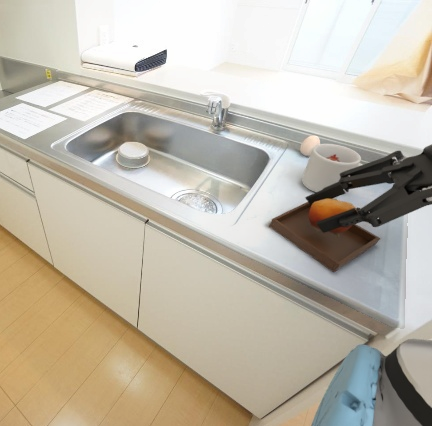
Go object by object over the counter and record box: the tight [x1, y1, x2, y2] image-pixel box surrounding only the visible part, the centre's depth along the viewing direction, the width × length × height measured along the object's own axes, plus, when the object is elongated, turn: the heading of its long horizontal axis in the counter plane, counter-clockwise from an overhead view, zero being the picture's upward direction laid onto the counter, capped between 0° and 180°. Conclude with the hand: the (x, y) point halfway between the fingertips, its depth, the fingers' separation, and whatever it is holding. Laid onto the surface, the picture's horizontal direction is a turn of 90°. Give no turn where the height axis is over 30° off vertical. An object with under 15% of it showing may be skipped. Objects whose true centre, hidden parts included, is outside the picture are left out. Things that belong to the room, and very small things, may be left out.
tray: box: [268, 201, 382, 273], centre depth 62 cm, size 15×14×2 cm
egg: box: [299, 134, 321, 157], centre depth 87 cm, size 5×5×7 cm
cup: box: [301, 143, 364, 193], centre depth 72 cm, size 14×10×10 cm
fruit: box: [309, 198, 357, 238], centre depth 59 cm, size 8×8×8 cm
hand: (314, 214), depth 59 cm, fingers closed on fruit, 8 cm apart
